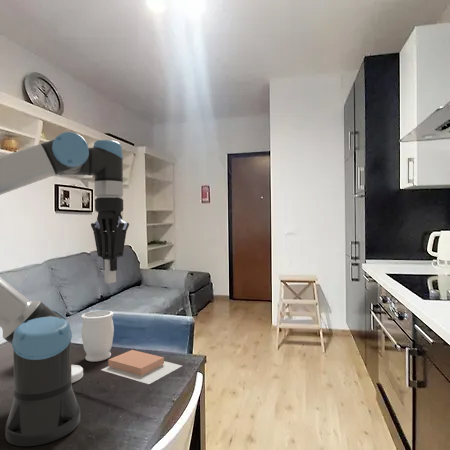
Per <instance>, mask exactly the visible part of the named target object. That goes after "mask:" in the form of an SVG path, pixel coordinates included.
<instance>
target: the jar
mask: <svg viewBox="0 0 450 450" xmlns="http://www.w3.org/2000/svg"><path fill="white" fill-rule="evenodd" d="M113 316H114V312H113V311H112V310H93V311H89V312H85V313H83V314H81V320H82V325H81V339H82V340H81V341H82V345H83V349H84V352H85V354H86V355H85V357H84V359H85V361H88V362H93V363H94V362H102V361H105V360H107V359H108V360H109V359H110V358H111V356H112V353H111V349H112V347H113V341H114V340H113V339H114V333H115V327H114V320H113Z"/></svg>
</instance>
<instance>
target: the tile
mask: <svg viewBox="0 0 450 450" xmlns="http://www.w3.org/2000/svg"><path fill="white" fill-rule="evenodd" d="M164 361H165V356H159V355H155V354H151V353H148V352H143V351H138V350H134V349H131V350H128V351H126V352H124V353H121V354H118V355H116V356H113V357H110V358H108V363H107V365H108V366H110V367H111V368H114V369H118V370H121V371H125V372H128V373H132V374H135V375H139V376H143V375H145V374H146V373H148V372H150V371H152V370H154V369H156V368H158V367H160V366H162V365H163V364H164ZM108 366H107V367H108Z"/></svg>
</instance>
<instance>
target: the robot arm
mask: <svg viewBox="0 0 450 450" xmlns="http://www.w3.org/2000/svg"><path fill="white" fill-rule="evenodd" d="M122 148H123V147H122V144H121V143H120V142H119V141H116V140H111V139H100V140H95V141H94V143H93V146H92V147H89V146H88V143H87V141H86V139H85V138H84V137H83V136H81V135H80V134H79V133H77V132H73V131H65V132H61V133H60V134H58V136H56V137H55V138H54V139H51V140H49V141H45V142H43V143H40V144H39V143H38V144H35V145H32V146H30V147H27V148H24V149H23V148H22V149H20V150H18V151H14V152H10V153H8V154H4V155H1V156H0V196H1V195H4V194H6V193H9V192H12V191H15V190H18V189H20V188H23V187H26V186H28V185H31V184H34V183H37V182H39V181H42V180H45V179H48V178H50V177H53V176H57V175H58V176H63V175H64V176H65V175H66V176H71V175H72V176H90V177H91V176H93V177H94V196H95V197H96V198H95V199H94V211H95V212H97V216H96V220H95V222H91V224H90V226H91V229H92V231H93V237H94V242H95V248H96V253H97V254H96V255H97V257H98V258H101V259H102V260H103V271H104V284H112V283H117V271H118V258H122V257H124V256H123V255H124V250H125V243H126V236H127V231H128V228H129V227H130V223H129V222H128V221H127V222H126V221H124V220H123V215H122V212H124V199H123V198H122V197H123V196H124V180H123V179H124V175H123V174H124V173H123V172H124V171H123V170H124V169H123V168H124V166H123V165H124V164H123V163H124V162H123V161H124V158H123V149H122ZM0 328H1V329H2V338H3V340H5V341H6V342H8V343H9V344H10V345H11V346H12V350H13V395H14V396H13V402H12V404H11V408H10V411H9V414H8V417H7V419H6V423H5V428H4V429H5V439H6V442H8V443H9V444H11V445H13V446H17V447H35V446H36V447H37V446H40V445H41V446H42V445H45V444H49V443H53V442H55V441H57V440H59V439H62V438H63V437H65V436H67V435H68V434H70V433H72V432H73V431H74V430H75V429H76V428H77V427H78V426H79V424H80V423H81V407H80V405H79V402H78V400H77V397H76V395H75V392H74V390H73V386H72V384H73V383H72V380H71V378H72V376H71V365H72V337H73V333H72V329H71V325H70V323H69V322H68V320H67V319H66V317H65V316H64V315H63V314H61V313H60V312H58V311H56V310H53V309H50V308H49V307H48V306H47V305H46V304H45V303H44V302H42V301H41V300H30V299H28V298H27V297H26V296H25V295H24V294H23V293H20V291H18V290H17V289H16V288H14V287H13V286H12V285H11V284H9V282H7V281H6V280H5V279H4V278H3V277H1V276H0Z"/></svg>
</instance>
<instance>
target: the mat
mask: <svg viewBox="0 0 450 450" xmlns="http://www.w3.org/2000/svg"><path fill="white" fill-rule="evenodd" d="M181 367H183V365H181V364H177V363H174V362H169V361H165V360H164V364H163V365H162V366H160V367H158V368H156V369H154V370H152V371H150V372H148V373H146V374H145V375H143V376H139V375H135V374H132V373H128V372H125V371H121V370H118V369H114V368H111V367H110V366H105V367H104V368H101V369H100V371H103V372H106V373H110V374H112V375H116V376H119V377H123V378H126V379H130V380H134V381H137V382H139V383H143V384H146V385H151V384H152V383H154V382H156V381H158V380H159V379H162V378H163V377H165V376H167V375H169V374H170V373H172V372H174V371H177V369H180V368H181Z"/></svg>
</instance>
